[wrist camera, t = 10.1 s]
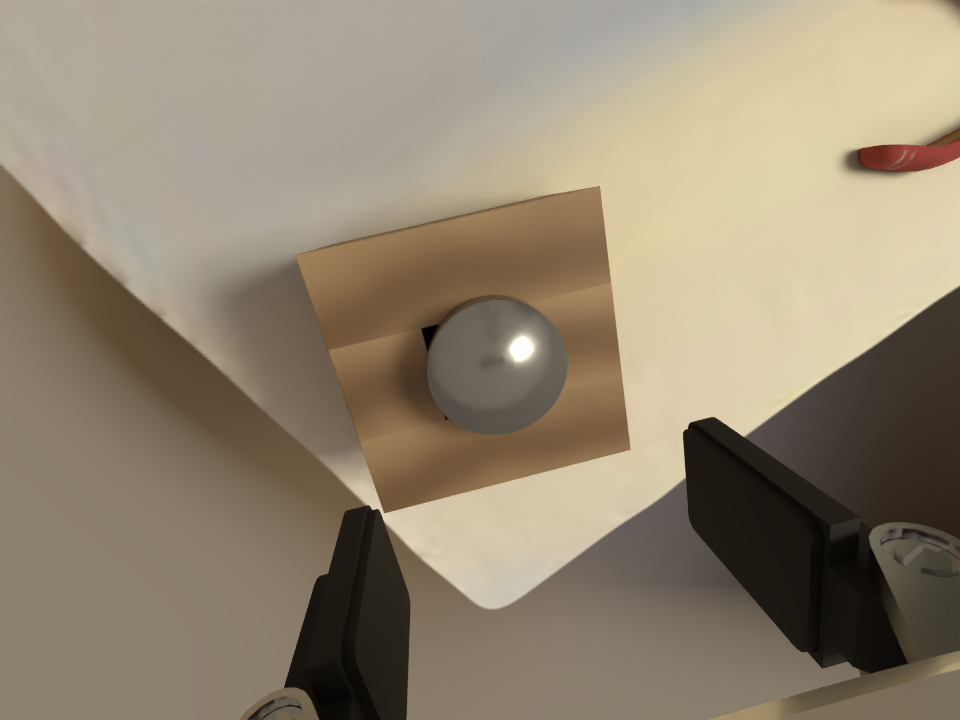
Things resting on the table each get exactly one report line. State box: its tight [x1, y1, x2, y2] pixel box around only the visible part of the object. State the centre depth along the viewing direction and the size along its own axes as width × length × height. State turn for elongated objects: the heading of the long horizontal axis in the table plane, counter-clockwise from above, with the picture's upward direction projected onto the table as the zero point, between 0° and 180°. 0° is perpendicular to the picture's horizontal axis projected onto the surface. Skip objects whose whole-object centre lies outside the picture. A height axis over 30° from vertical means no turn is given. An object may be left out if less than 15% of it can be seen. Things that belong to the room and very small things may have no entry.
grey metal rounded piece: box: [427, 295, 567, 435], centre depth 25 cm, size 7×7×9 cm
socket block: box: [296, 186, 630, 513], centre depth 26 cm, size 14×14×8 cm
